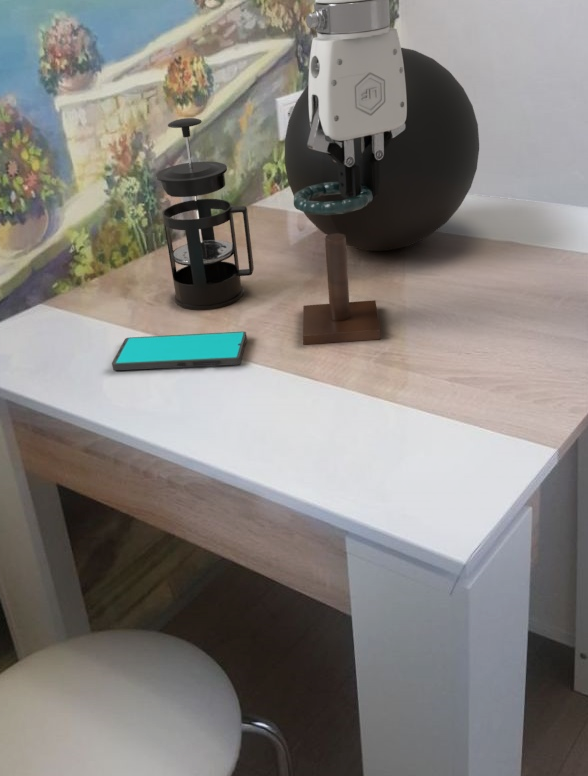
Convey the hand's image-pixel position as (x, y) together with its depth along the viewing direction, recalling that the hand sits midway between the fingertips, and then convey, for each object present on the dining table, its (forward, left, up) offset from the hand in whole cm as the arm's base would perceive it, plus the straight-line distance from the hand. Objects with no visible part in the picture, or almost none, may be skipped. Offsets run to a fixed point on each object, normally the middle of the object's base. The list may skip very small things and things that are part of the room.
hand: (359, 195), depth 100 cm
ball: (-4, -26, -15) cm, 31 cm away
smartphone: (+22, +7, -15) cm, 28 cm away
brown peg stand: (+3, +2, -15) cm, 16 cm away
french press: (+20, -11, -15) cm, 28 cm away
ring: (+3, +2, +1) cm, 4 cm away
